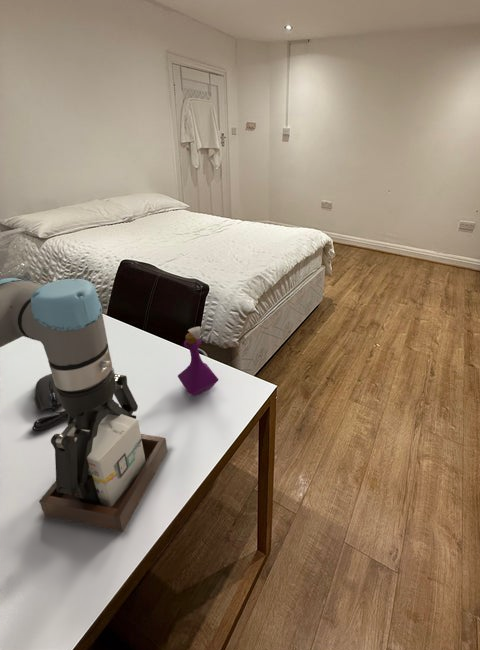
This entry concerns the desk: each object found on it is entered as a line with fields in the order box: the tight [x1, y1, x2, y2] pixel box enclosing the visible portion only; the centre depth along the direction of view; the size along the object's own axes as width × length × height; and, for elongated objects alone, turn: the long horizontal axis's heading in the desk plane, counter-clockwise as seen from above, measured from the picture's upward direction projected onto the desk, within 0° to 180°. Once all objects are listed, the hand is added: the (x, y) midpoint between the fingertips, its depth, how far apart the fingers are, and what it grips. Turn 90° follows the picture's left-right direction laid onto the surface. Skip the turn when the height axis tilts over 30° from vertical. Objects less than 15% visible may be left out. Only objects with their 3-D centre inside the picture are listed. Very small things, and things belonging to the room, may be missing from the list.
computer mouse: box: [31, 373, 68, 432], centre depth 75 cm, size 12×18×4 cm
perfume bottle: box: [177, 326, 219, 397], centre depth 77 cm, size 8×8×18 cm
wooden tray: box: [38, 433, 168, 532], centre depth 58 cm, size 14×14×4 cm
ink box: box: [81, 414, 146, 508], centre depth 56 cm, size 8×8×12 cm
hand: (110, 473), depth 58 cm, fingers closed on ink box, 9 cm apart
